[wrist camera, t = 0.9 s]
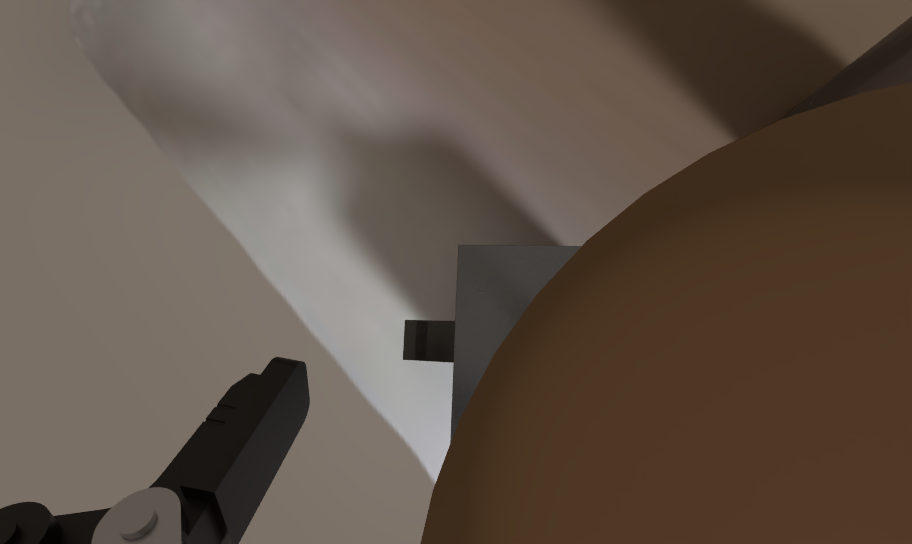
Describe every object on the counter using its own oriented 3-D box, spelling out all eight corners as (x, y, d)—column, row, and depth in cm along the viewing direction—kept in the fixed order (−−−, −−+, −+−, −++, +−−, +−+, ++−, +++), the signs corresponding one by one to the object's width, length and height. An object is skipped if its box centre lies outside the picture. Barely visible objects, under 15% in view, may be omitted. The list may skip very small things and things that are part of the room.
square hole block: (598, 283, 33) (670, 246, 17) (598, 398, 32) (674, 471, 16) (451, 279, 35) (394, 244, 19) (447, 387, 34) (383, 444, 18)
